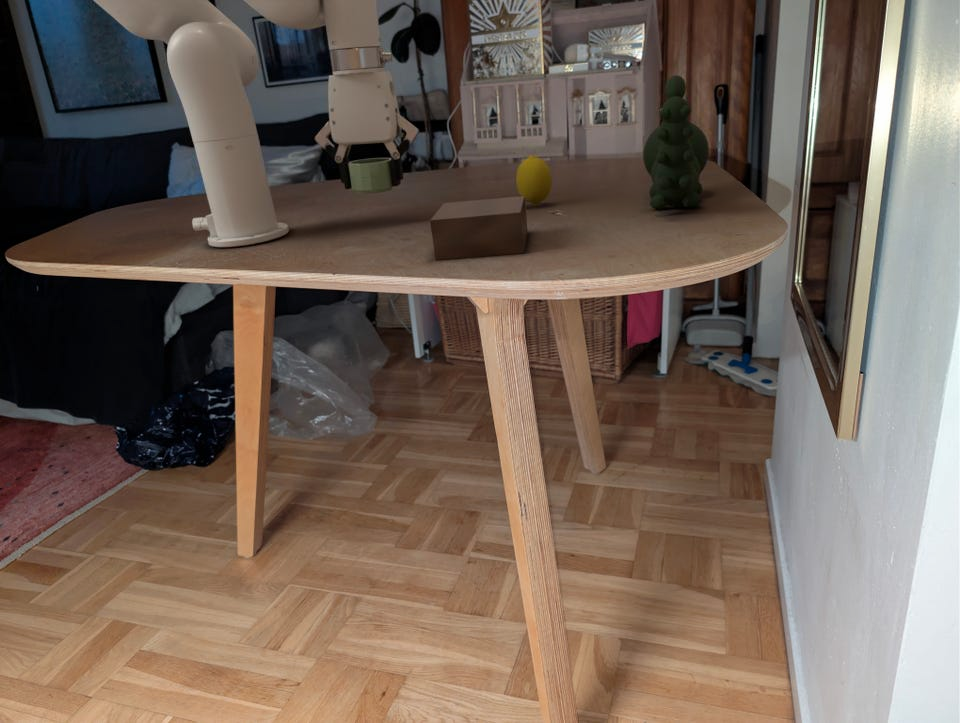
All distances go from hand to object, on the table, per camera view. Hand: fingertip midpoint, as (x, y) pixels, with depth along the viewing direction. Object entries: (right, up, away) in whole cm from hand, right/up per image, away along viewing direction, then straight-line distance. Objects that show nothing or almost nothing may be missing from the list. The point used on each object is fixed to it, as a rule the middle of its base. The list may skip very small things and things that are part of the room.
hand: (373, 185), depth 109 cm
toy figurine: (+45, -4, -7) cm, 46 cm away
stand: (+17, -13, -18) cm, 28 cm away
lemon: (+26, -3, +3) cm, 26 cm away
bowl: (0, -1, 0) cm, 1 cm away
